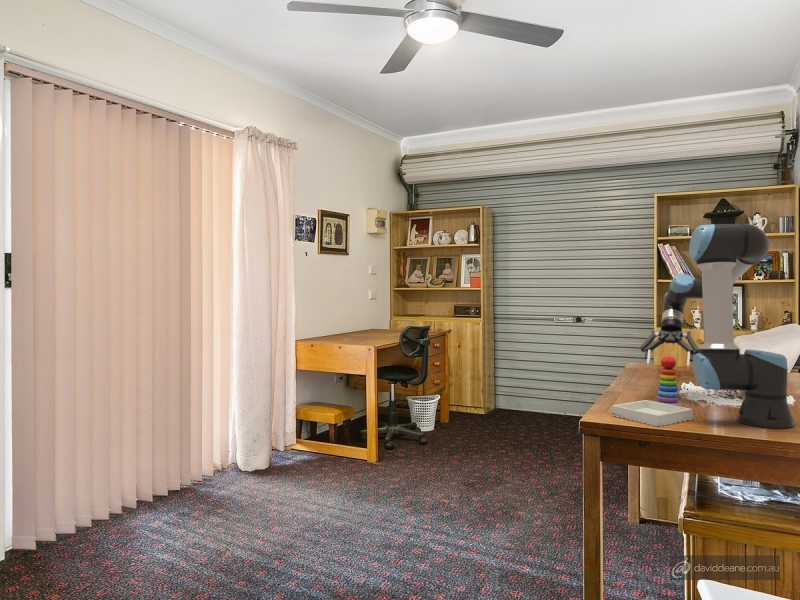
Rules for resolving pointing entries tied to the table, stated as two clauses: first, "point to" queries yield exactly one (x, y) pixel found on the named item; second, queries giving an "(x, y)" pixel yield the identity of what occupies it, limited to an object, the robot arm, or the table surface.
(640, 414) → the tray
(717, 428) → the table surface
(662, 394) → the stacking toy
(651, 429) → the table surface
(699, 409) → the table surface
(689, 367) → the robot arm
